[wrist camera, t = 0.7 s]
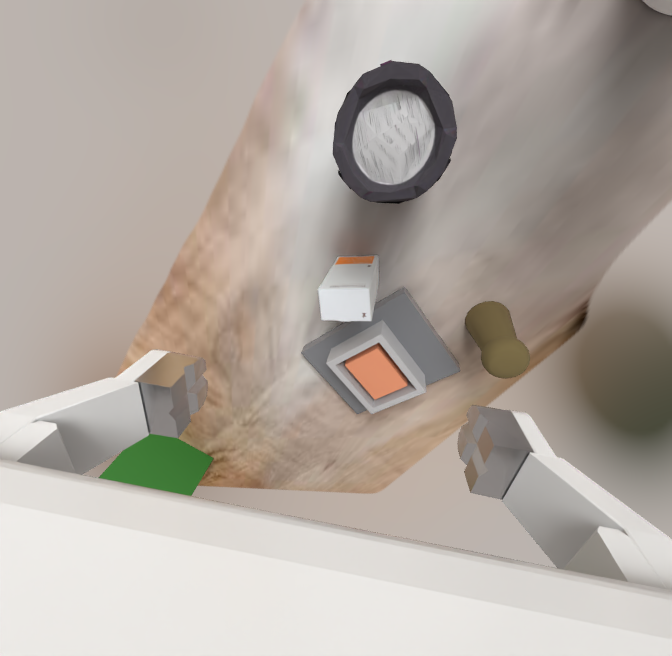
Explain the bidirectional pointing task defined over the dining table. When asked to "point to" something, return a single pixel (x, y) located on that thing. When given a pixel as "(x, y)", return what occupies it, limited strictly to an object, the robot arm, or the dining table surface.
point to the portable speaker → (394, 133)
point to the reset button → (376, 371)
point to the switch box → (399, 342)
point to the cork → (497, 340)
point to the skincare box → (350, 289)
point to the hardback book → (160, 465)
